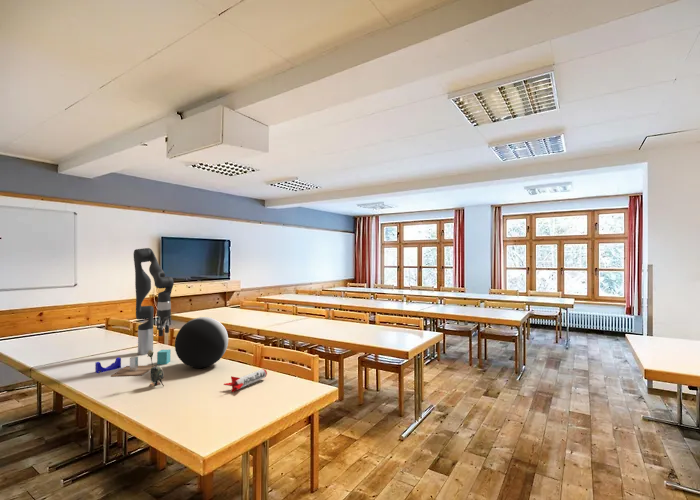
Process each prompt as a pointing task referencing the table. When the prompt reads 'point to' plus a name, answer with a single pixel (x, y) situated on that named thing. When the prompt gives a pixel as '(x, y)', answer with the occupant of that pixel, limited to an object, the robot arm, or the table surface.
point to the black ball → (201, 342)
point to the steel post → (134, 363)
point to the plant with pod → (155, 372)
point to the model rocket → (246, 379)
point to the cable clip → (112, 367)
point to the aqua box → (163, 356)
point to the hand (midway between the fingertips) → (163, 334)
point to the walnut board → (138, 372)
